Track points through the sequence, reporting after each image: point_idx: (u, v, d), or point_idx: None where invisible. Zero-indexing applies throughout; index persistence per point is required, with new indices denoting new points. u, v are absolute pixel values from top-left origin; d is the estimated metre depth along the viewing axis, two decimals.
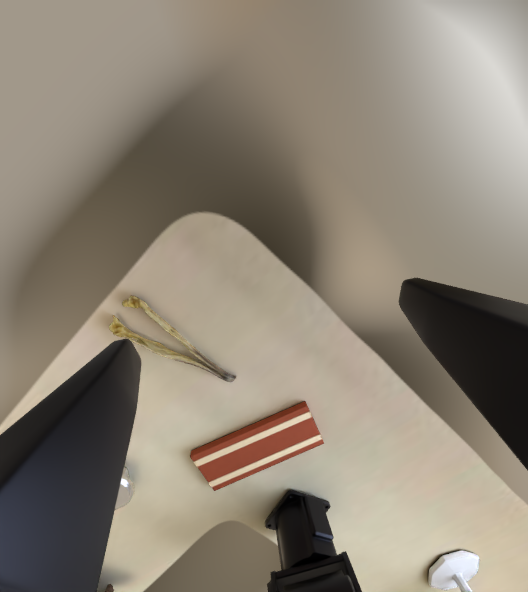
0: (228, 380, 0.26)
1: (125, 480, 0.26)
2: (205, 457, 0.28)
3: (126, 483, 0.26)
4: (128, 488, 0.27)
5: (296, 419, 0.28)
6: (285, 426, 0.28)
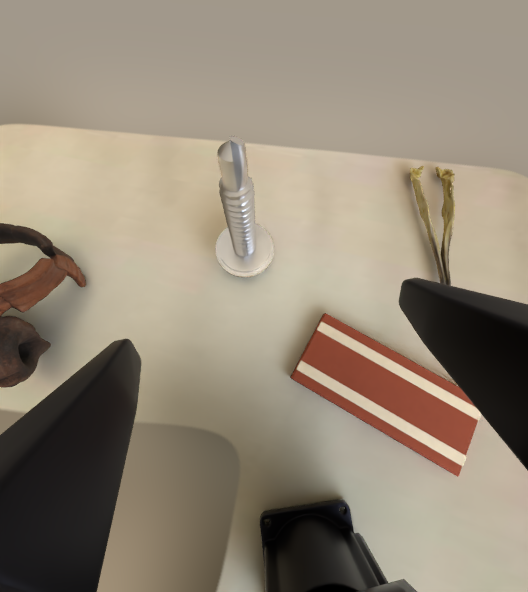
0: None
1: (272, 255, 0.21)
2: (335, 330, 0.21)
3: (268, 258, 0.21)
4: (262, 264, 0.21)
5: (459, 404, 0.20)
6: (442, 396, 0.20)
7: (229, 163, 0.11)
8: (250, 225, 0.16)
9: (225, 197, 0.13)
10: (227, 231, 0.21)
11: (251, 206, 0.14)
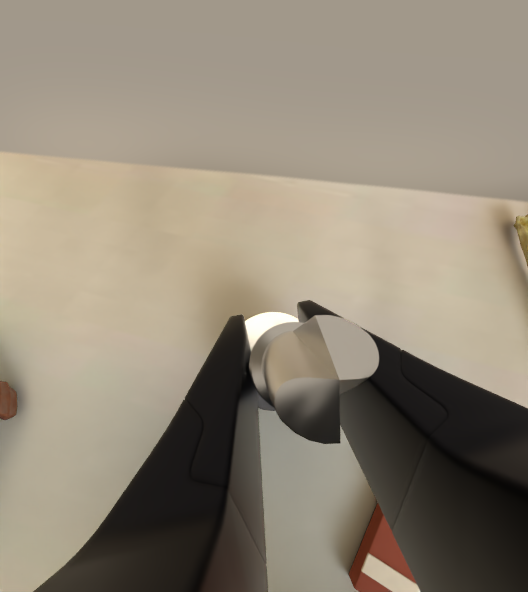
0: None
1: None
2: None
3: None
4: None
5: None
6: None
7: (320, 440, 0.03)
8: None
9: None
10: None
11: None
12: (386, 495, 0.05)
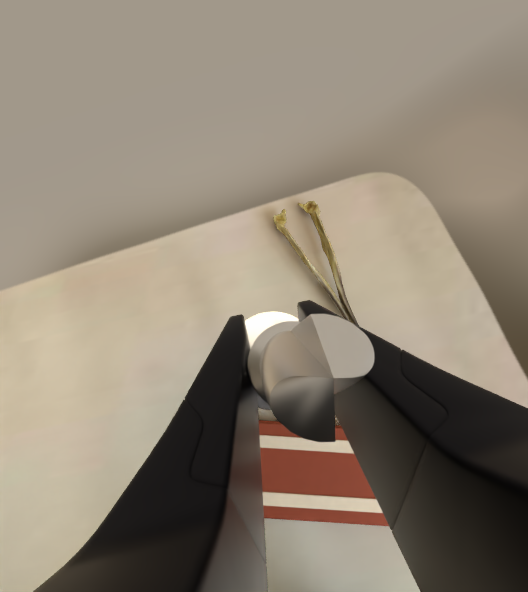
0: None
1: None
2: (266, 437, 0.19)
3: None
4: None
5: None
6: None
7: (316, 438, 0.03)
8: None
9: None
10: None
11: None
12: (386, 495, 0.05)
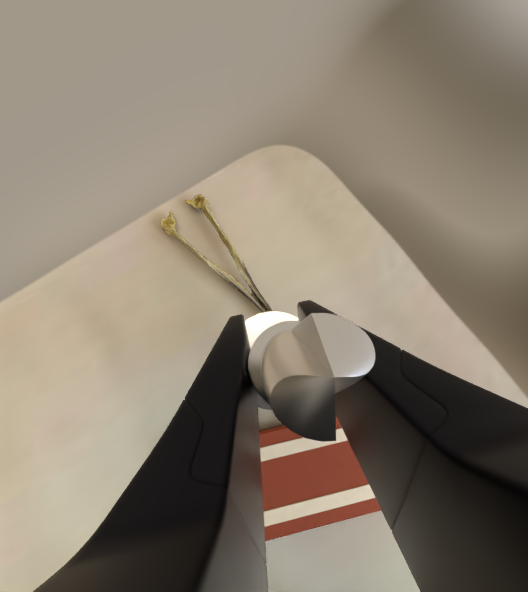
0: None
1: None
2: None
3: None
4: None
5: None
6: (345, 436, 0.17)
7: (316, 437, 0.03)
8: None
9: None
10: None
11: None
12: (386, 495, 0.05)
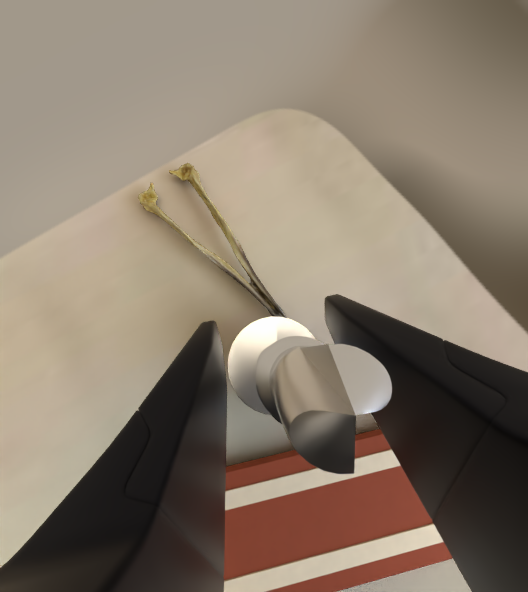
0: None
1: None
2: None
3: None
4: None
5: None
6: (372, 466, 0.13)
7: (335, 469, 0.03)
8: None
9: None
10: (247, 336, 0.13)
11: None
12: (428, 484, 0.05)
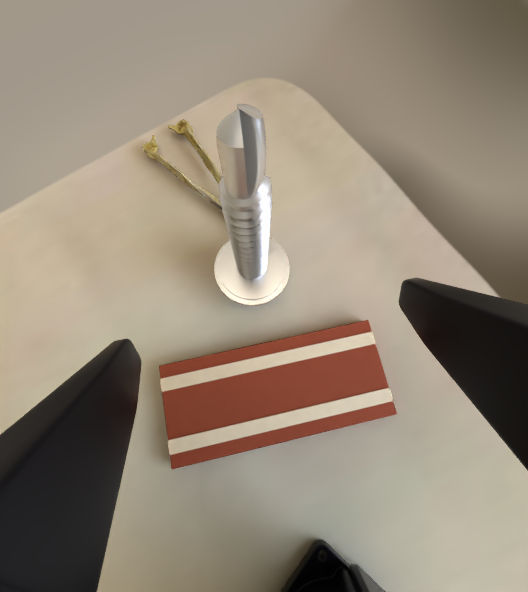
0: None
1: (287, 277, 0.16)
2: (181, 375, 0.16)
3: (283, 281, 0.16)
4: (274, 289, 0.16)
5: (349, 342, 0.17)
6: (328, 349, 0.17)
7: (237, 151, 0.06)
8: (263, 244, 0.12)
9: (228, 207, 0.09)
10: (229, 246, 0.16)
11: (266, 219, 0.10)
12: None
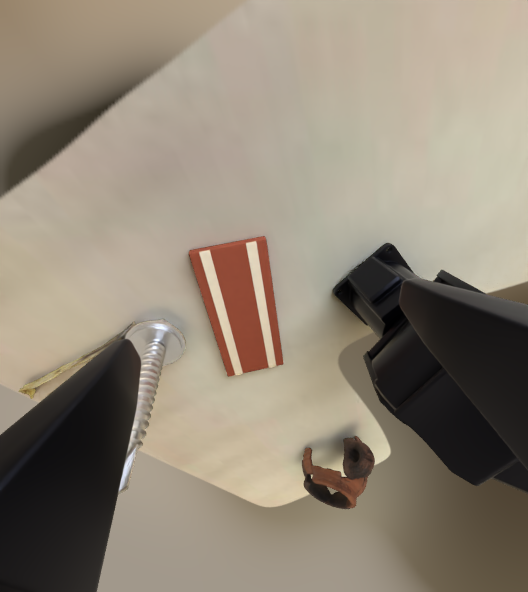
0: None
1: (159, 324, 0.21)
2: (233, 366, 0.26)
3: (163, 326, 0.21)
4: (171, 331, 0.21)
5: (209, 270, 0.20)
6: (215, 286, 0.21)
7: (128, 484, 0.13)
8: (148, 387, 0.17)
9: None
10: None
11: (138, 410, 0.16)
12: None
